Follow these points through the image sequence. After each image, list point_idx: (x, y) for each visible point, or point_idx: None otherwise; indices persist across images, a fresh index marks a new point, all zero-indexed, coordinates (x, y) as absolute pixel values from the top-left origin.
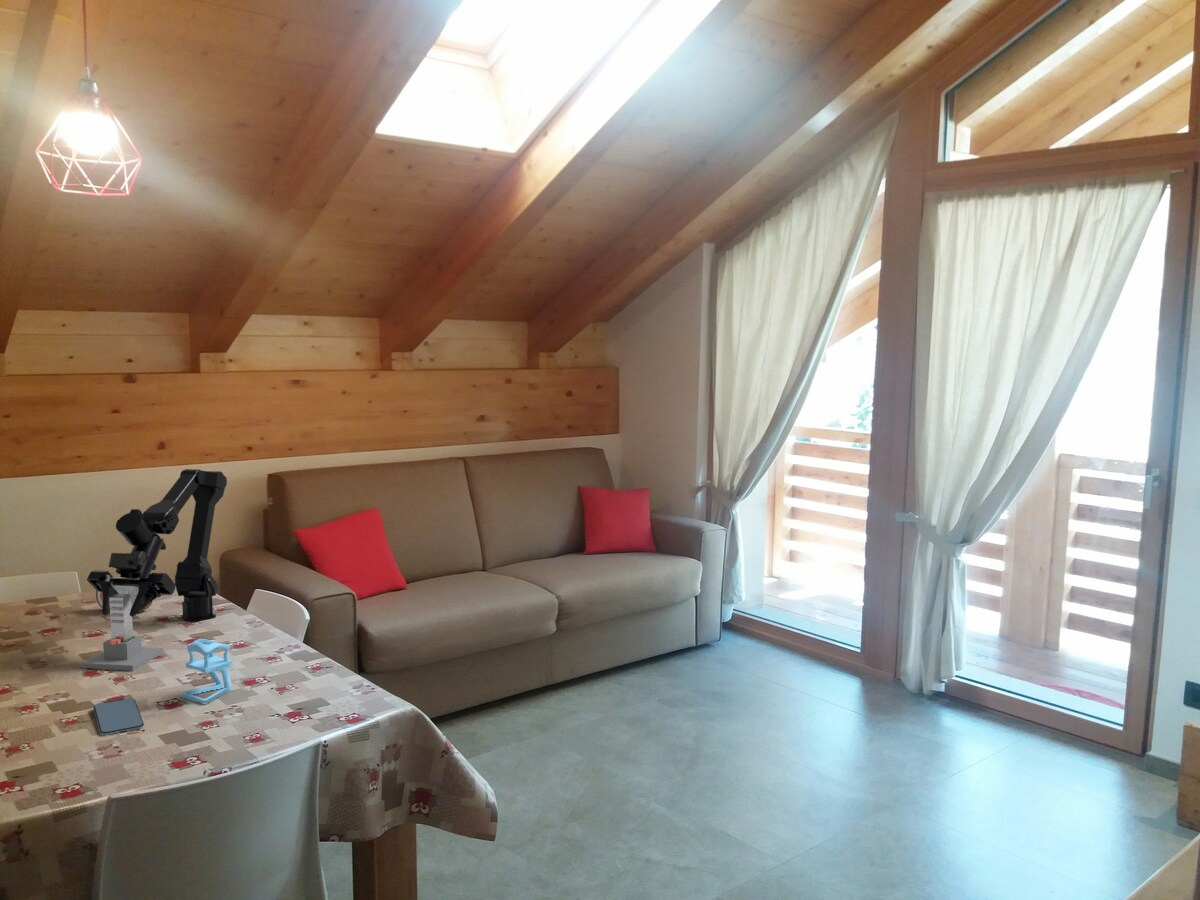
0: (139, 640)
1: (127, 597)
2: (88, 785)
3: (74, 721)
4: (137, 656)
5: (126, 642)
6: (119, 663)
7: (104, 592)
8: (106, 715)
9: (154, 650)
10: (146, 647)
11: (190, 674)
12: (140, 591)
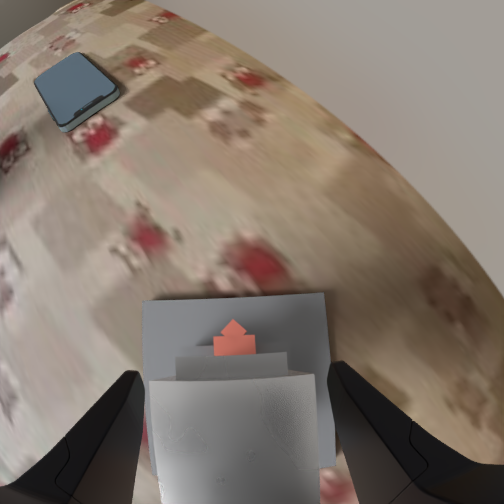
0: None
1: (161, 460)
2: (66, 14)
3: (133, 64)
4: None
5: None
6: (196, 312)
7: (444, 462)
8: (84, 74)
9: None
10: None
11: (6, 297)
12: (42, 499)
